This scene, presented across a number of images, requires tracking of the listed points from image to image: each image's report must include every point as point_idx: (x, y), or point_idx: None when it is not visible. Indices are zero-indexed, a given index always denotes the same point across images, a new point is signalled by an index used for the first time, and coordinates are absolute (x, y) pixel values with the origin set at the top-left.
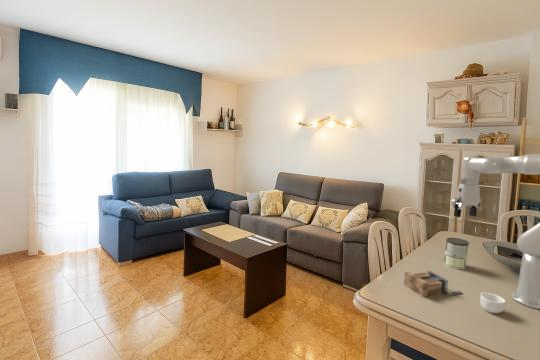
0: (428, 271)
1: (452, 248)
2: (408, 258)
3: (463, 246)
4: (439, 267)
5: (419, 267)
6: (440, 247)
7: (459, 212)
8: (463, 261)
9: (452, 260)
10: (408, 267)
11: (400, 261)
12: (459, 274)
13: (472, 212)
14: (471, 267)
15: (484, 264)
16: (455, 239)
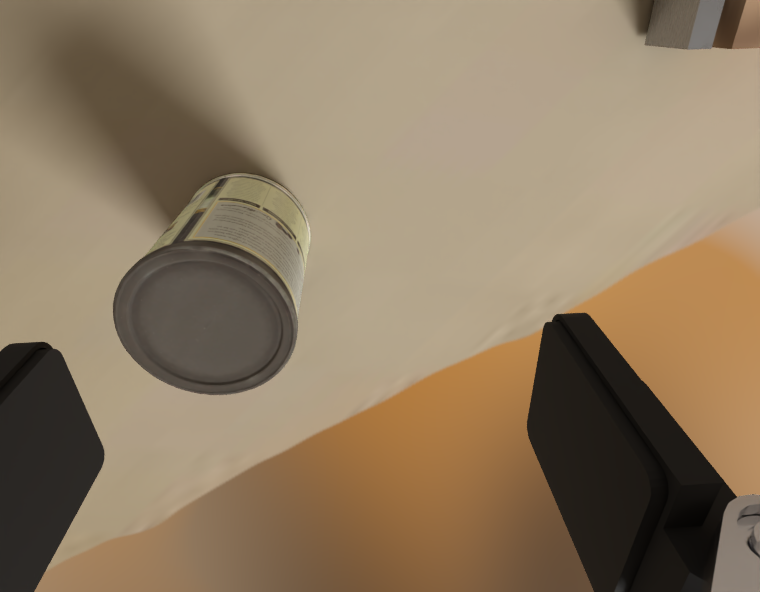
0: (713, 39)
1: (291, 272)
2: (464, 349)
3: (219, 240)
4: (379, 221)
5: (507, 239)
6: (141, 452)
7: (642, 408)
8: (229, 191)
9: (295, 225)
10: (573, 249)
11: None
12: (329, 107)
13: (33, 467)
14: (150, 189)
15: (11, 215)
16: (198, 358)
